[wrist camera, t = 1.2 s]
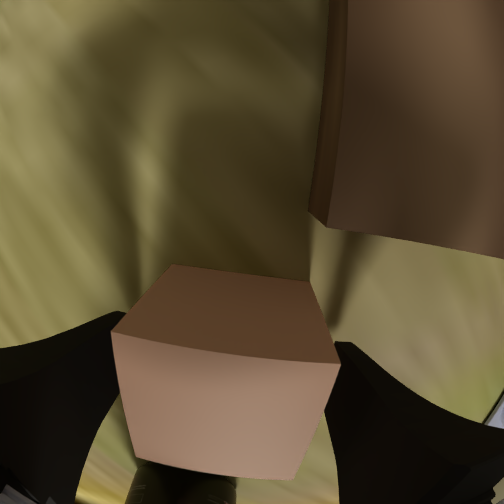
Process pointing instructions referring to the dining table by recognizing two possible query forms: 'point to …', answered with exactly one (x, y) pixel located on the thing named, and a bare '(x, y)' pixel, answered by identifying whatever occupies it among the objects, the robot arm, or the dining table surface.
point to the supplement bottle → (178, 486)
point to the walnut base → (414, 123)
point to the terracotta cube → (225, 372)
